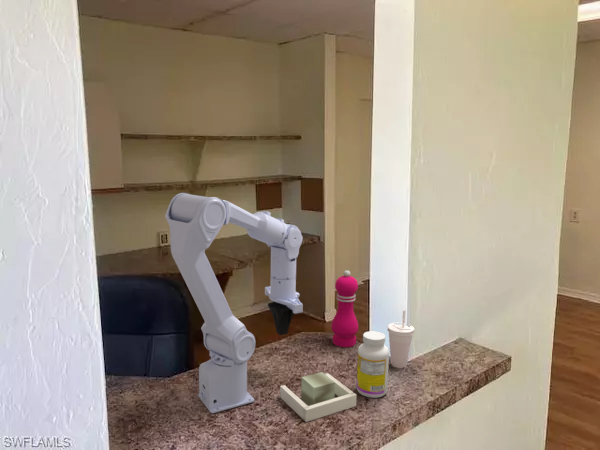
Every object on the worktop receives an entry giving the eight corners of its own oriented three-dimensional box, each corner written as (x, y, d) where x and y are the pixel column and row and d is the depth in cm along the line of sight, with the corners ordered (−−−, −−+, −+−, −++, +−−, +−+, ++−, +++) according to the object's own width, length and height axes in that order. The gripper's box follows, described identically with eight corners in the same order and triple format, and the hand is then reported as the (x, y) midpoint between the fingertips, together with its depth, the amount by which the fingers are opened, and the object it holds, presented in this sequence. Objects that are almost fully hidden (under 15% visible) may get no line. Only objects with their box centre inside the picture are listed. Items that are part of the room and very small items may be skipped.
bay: (306, 422, 94) (306, 410, 93) (280, 397, 103) (280, 385, 102) (356, 406, 100) (356, 394, 99) (327, 383, 109) (327, 373, 108)
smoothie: (405, 373, 114) (408, 316, 112) (380, 365, 118) (383, 310, 116) (416, 364, 119) (420, 309, 117) (392, 356, 123) (395, 303, 121)
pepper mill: (329, 346, 128) (331, 273, 125) (332, 336, 135) (334, 266, 132) (357, 349, 127) (360, 275, 124) (358, 338, 134) (361, 267, 131)
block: (313, 411, 98) (314, 387, 97) (301, 399, 102) (301, 377, 101) (334, 404, 100) (335, 382, 100) (321, 393, 105) (322, 371, 104)
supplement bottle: (365, 380, 111) (367, 326, 108) (392, 389, 107) (395, 334, 105) (350, 392, 105) (352, 336, 103) (378, 402, 101) (381, 344, 99)
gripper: (315, 282, 106) (313, 341, 108) (283, 266, 118) (282, 320, 120) (286, 286, 102) (285, 347, 105) (257, 270, 115) (256, 325, 117)
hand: (282, 333), depth 112 cm, fingers closed
